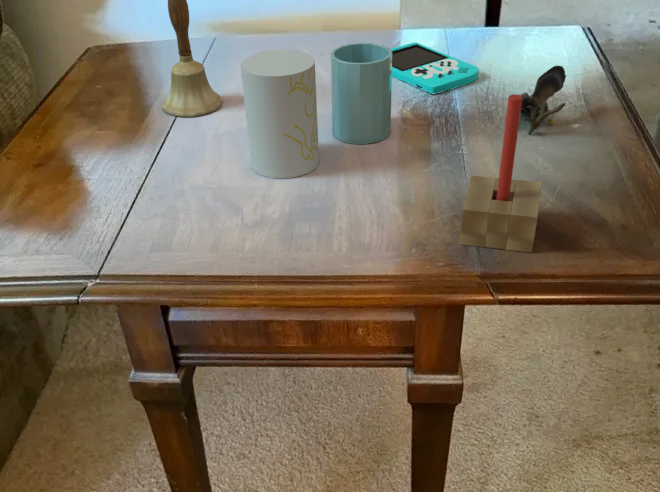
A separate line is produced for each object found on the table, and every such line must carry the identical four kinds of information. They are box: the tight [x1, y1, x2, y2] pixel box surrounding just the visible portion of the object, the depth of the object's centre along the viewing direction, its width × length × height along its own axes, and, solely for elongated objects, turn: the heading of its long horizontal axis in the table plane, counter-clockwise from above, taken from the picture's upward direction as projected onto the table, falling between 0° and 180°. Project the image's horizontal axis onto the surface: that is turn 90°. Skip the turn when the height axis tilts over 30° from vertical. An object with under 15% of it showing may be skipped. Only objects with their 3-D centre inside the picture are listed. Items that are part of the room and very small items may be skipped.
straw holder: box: [458, 175, 543, 254], centre depth 76 cm, size 7×7×4 cm
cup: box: [240, 49, 320, 180], centre depth 87 cm, size 8×8×12 cm
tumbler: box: [330, 42, 393, 145], centre depth 94 cm, size 7×7×10 cm
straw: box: [496, 94, 522, 201], centre depth 73 cm, size 1×1×14 cm
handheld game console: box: [389, 41, 480, 93], centre depth 112 cm, size 10×16×1 cm, turn 33°
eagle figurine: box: [519, 65, 567, 136], centre depth 95 cm, size 8×7×9 cm
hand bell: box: [161, 0, 223, 118], centre depth 101 cm, size 8×8×16 cm
